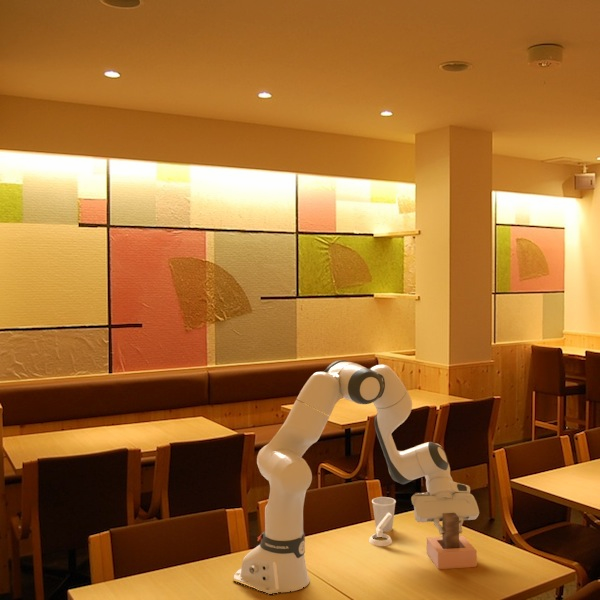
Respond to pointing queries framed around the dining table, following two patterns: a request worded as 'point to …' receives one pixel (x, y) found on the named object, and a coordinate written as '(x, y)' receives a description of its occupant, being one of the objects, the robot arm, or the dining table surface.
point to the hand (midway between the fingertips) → (451, 533)
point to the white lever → (381, 533)
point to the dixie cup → (383, 511)
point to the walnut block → (450, 530)
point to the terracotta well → (451, 554)
